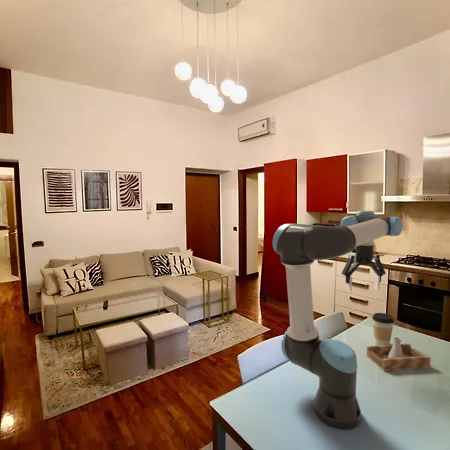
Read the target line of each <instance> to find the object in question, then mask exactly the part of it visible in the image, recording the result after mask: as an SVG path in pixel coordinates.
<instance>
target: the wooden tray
mask: <svg viewBox="0 0 450 450" xmlns="http://www.w3.org/2000/svg"><path fill="white" fill-rule="evenodd" d="M400 344H401V349H402V352H403V355H404V357H402V358H388V354H389V353H390V351H391V349H392V347H393V344H389V345H367V346H366V358H368V359H369V360H370V361H371V362H372V363H374V364H375V365H376V366H377V367H378V368H379V369H380V370H382V371H383V372H395V371H396V372H397V371H410V370H412V371H413V370H422V369H423V370H426V369H431V356H429V355H423V354H421V353H420V352H418V351H416V350H415V349H414V348H412V344H410V343H400Z"/></svg>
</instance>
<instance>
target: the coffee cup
mask: <svg viewBox="0 0 450 450" xmlns="http://www.w3.org/2000/svg"><path fill="white" fill-rule="evenodd" d="M371 319H372V320H373V323H372V325H373V336H374V343H375V346H377V345H391V344H390V343H391V339H392V333H393V328H394V327H393V326H394V323H395V319H394V317H393V316H392V315H391V314H387V313H386V312H385V313H384V312H375V313H373V315H372V317H371Z"/></svg>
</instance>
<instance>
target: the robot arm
mask: <svg viewBox="0 0 450 450" xmlns="http://www.w3.org/2000/svg"><path fill="white" fill-rule="evenodd" d="M402 230H403V221H402V219H401V218H400V217H398V216H391V215H390V216H375V212H374V211H373V210H357V212H356V215H346V216H345V217H343V218H342V219H341V220H340V225H338V226H332V225H331V226H329V225H328V226H326V225H319V224H316V225H315V224H305V223H304V224H303V223H296V222H295V223H284V224H282V225H280V226H279V227H278V228H277V230H276V231H275V233H274V235H273V238H272V247H273V251H275V253H276V254H278V255H280V263H281V264H282V265H283V266H284V267H285V272H286V274H285V275H286V286H287V287H286V288H287V299H288V311H289V326H288V328H287V329H286V331H285V333H284V334H283V336H282V339H281V342H280V343H281V345H280V346H281V350H282V351H281V352H282V355H283V356H284V357H285V359H287V360H288V361H289V362H291V364H294V365H295V366H298V367H300V368H302V369H304V370H306V371H308V372H310V373H311V374H313V375H315V376H317V377H318V382H319V383H318V385H319V386H318V389H317V391H316V394H315V396H314V399H313V407H312V408H313V412H314V414H315V416H316V417H317V418H318V419H319V420H320V421H322V422H323V423H324V424H326V425H328V426H329V427H333V428H335V429H339V430H351V429H355V428H357V427H358V426H359V425H360V423H361V420H362V413H361V412H362V411H361V407H360V404H359V401H358V398H357V375H358V373H357V371H358V363H357V362H358V361H357V360H358V359H357V354H356V352H355V350H354V349H353V348H352V347H351V346H350V345H348V344H347V343H345V342H344V341H341V340H338V339H333V338H326V339H323V340H321V339H320V332H319V330H318V329H319V328H317V327H316V326H315V319H314V304H313V291H312V289H313V288H312V276H311V275H312V273H311V266H312V264H313V263H314V262H315V261H324V260H332V259H334V258H338V257H341V256H344V255H347V254H348V260H347V261H346V262H345V265H344V268H343V270H342V272H341V275H343V276H344V277H345V283H346V290H347V291H349V292H353V291H352V289H353V287H352V286H353V277H352V275H353V274H354V273H355V272H356V270H357V269H358V267H360V266H361V265H362V266H364V265H367V266H369V267H370V268H371V269H372V270H373V272H374V273H375V274H374V283H373V284H374V286H373V287H374V289H375V290H377V291H380V283H382V277H383V276H384V275H386V273H387V272H386V271H385V268H384V266H383V263H382V261H381V258H380V257H381V255H379V254H377V253H375V254H374V248H375V247H374V242H375V240H378V239H379V238H380V239H381V238H382V237H383V238H384V237H386V236H389V237H399V236H400V235H401V233H402ZM353 251H354V252H355V254H354V255H353V254H349V253H351V252H353ZM373 260H374V262H375V263H374V262H373ZM375 264H376V265H375Z"/></svg>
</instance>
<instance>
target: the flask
mask: <svg viewBox="0 0 450 450" xmlns="http://www.w3.org/2000/svg"><path fill="white" fill-rule="evenodd" d="M401 342H402V338H401V337H397V336H393V344H392V345H393V347H392V349H391V351H390V353H389V354H388V358H402V357H404V355H403V352H402V349H401V344H402V343H401Z"/></svg>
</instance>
